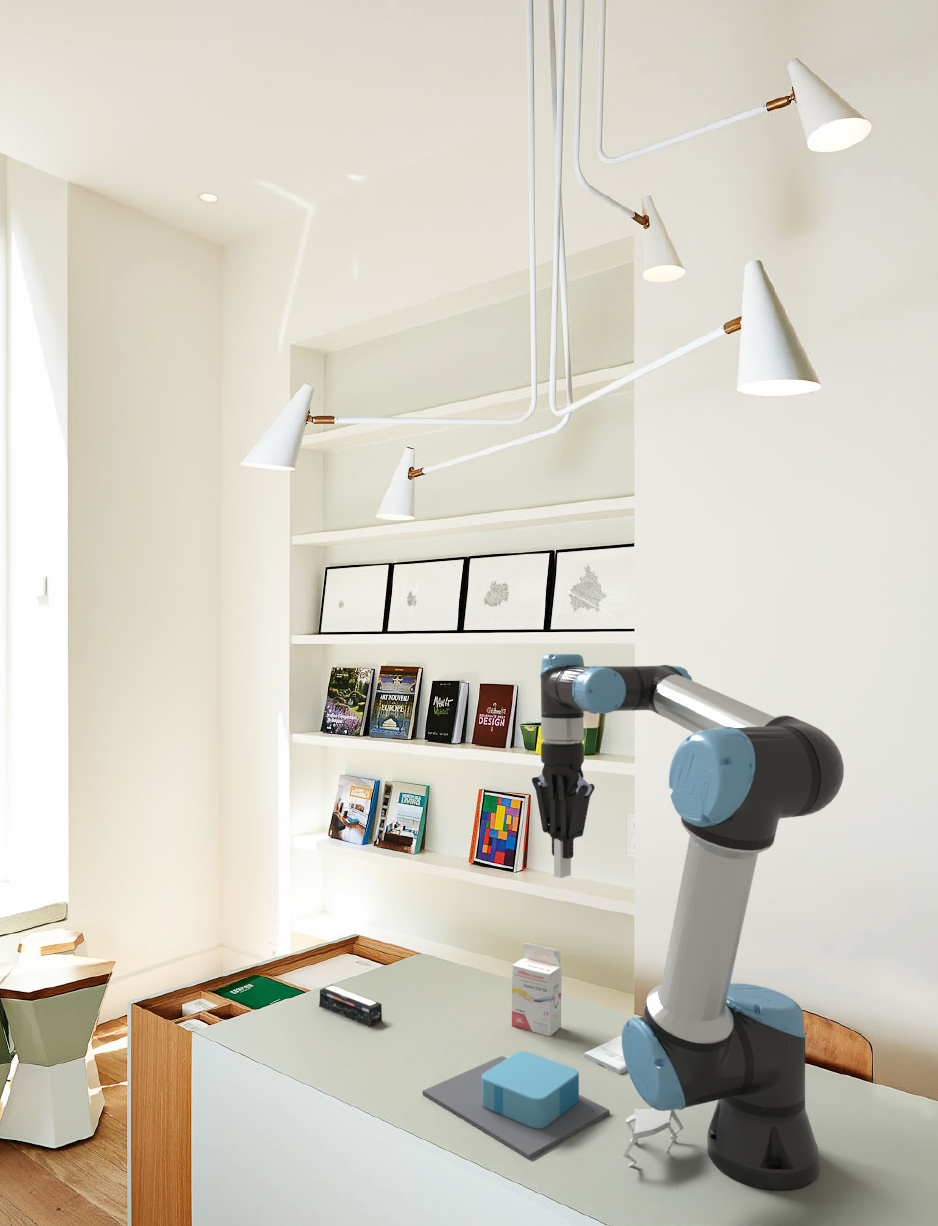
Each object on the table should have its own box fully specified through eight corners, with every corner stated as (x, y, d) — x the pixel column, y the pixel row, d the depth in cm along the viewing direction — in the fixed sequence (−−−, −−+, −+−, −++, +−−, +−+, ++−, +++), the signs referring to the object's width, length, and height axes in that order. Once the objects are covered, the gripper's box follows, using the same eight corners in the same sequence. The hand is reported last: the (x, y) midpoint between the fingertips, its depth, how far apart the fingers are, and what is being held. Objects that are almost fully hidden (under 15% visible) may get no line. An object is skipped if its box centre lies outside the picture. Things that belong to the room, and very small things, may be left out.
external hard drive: (663, 1055, 158) (619, 1078, 150) (627, 1040, 164) (583, 1060, 156) (663, 1046, 158) (619, 1068, 150) (627, 1031, 164) (583, 1051, 156)
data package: (477, 1105, 138) (540, 1131, 131) (477, 1076, 139) (540, 1101, 131) (521, 1075, 148) (582, 1099, 140) (521, 1048, 148) (582, 1070, 140)
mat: (609, 1113, 137) (609, 1109, 137) (529, 1158, 125) (529, 1154, 125) (502, 1059, 155) (502, 1055, 155) (422, 1094, 143) (422, 1090, 143)
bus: (338, 993, 185) (338, 973, 186) (425, 1026, 169) (425, 1004, 169) (283, 1015, 174) (283, 994, 175) (370, 1053, 158) (370, 1030, 158)
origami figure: (631, 1126, 134) (631, 1093, 134) (686, 1141, 130) (686, 1107, 130) (605, 1167, 123) (604, 1131, 123) (663, 1185, 119) (663, 1147, 119)
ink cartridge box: (510, 1026, 168) (510, 948, 169) (523, 1017, 172) (523, 941, 173) (550, 1037, 164) (550, 957, 164) (562, 1027, 168) (562, 949, 168)
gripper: (604, 742, 153) (605, 879, 152) (549, 736, 163) (549, 865, 162) (576, 746, 148) (576, 887, 147) (521, 739, 158) (521, 872, 157)
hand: (562, 875), depth 155 cm, fingers closed
